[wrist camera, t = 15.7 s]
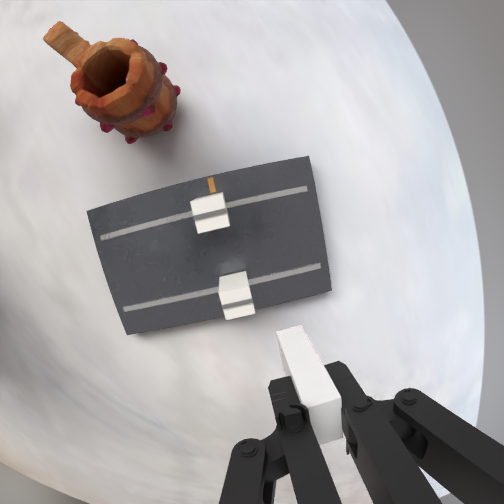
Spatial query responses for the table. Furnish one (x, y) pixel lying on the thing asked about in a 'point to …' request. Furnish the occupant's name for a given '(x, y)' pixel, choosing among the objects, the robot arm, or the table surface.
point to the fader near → (210, 212)
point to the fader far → (235, 295)
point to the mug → (117, 83)
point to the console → (212, 245)
